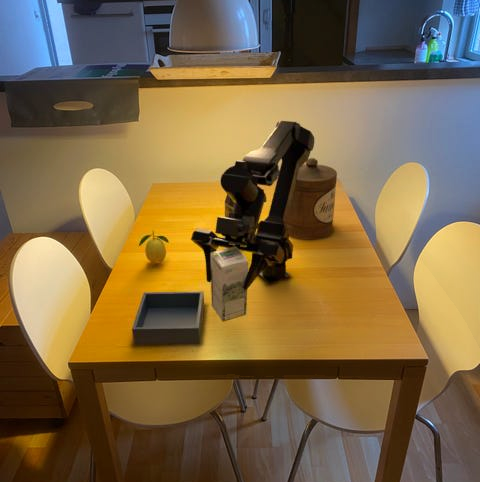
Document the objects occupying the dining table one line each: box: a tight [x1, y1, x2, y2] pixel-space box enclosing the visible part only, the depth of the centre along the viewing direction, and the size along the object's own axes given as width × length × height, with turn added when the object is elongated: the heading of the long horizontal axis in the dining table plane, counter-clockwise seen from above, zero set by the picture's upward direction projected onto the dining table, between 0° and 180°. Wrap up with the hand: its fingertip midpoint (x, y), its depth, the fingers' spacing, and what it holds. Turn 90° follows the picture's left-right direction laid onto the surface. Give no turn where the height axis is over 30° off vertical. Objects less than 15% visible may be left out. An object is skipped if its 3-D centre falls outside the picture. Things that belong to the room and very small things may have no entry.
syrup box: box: [210, 246, 249, 323], centre depth 96 cm, size 6×6×14 cm
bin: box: [131, 291, 205, 346], centre depth 105 cm, size 14×14×4 cm
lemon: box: [138, 230, 170, 264], centre depth 127 cm, size 7×6×10 cm
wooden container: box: [286, 157, 338, 240], centre depth 140 cm, size 15×15×22 cm
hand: (226, 285), depth 95 cm, fingers closed on syrup box, 8 cm apart
